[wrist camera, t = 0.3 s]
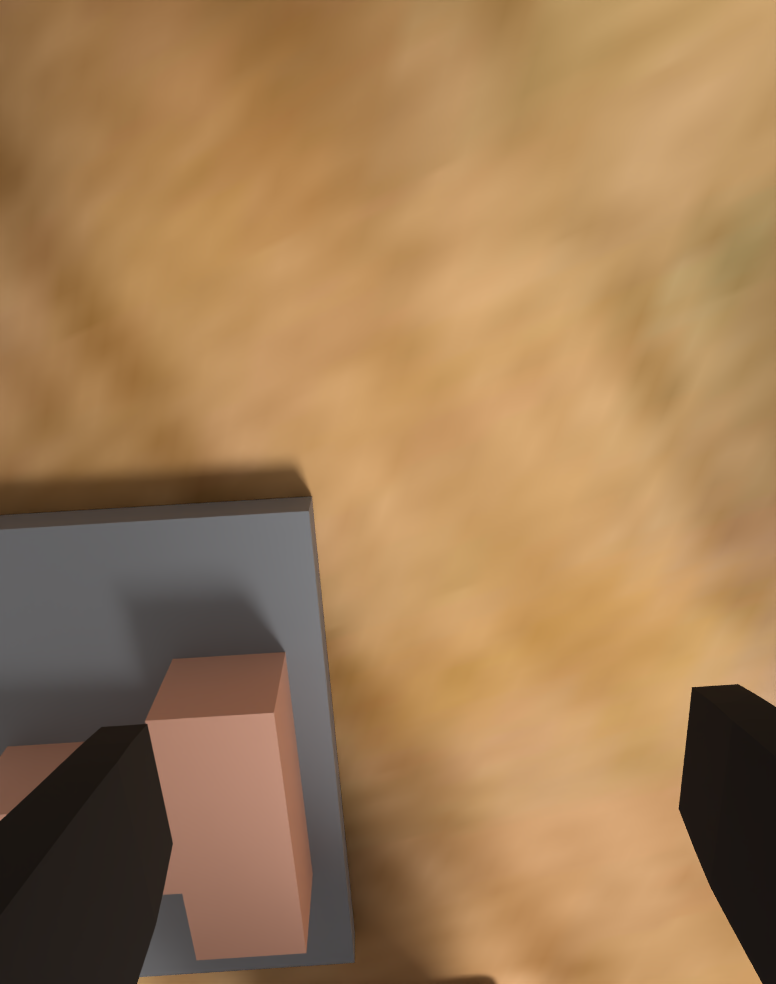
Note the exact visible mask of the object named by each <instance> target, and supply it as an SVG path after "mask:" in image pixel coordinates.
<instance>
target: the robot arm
mask: <svg viewBox="0 0 776 984" xmlns="http://www.w3.org/2000/svg"><path fill="white" fill-rule="evenodd" d="M679 811H680V813H681V816H682V818H683V821H684V823H685V826H686V829H687V831H688V834H689V836H690V839H691V841H692V844H693V847H694V849H695V852H696V854H697V856H698V859H699V861H700V863H701V866H702V868H703V871H704V873H705V875H706V878H707V880H708V883H709V885H710V887H711V889H712V891H713V893H714V895H715V897H716V899H717V900H718V902H719V904H720V906H721V908H722V910H723V912H724V914H725V915H726V917H727V919H728V921H729V923H730V925H731V927H732V928H733V930H734V932H735V934H736V936H737V938H738V940H739V941H740V943H741V945H742V947H743V949H744V951H745V952H746V954H747V956H748V958H749V960H750V962H751V963H752V965H753V967H754V969H755V971H756V973H757V974H758V976H759V978H760V980H761V982H762V983H763V984H776V707H775V706H774V705H772V704H770V703H769V702H767V701H766V700H764V699H762V698H761V697H759V696H757V695H756V694H754V693H752V692H751V691H749V690H747V689H745V688H744V687H742V686H740V685H738V684H735V685H720V686H705V687H692V693H691V702H690V711H689V720H688V730H687V739H686V748H685V757H684V766H683V775H682V784H681V793H680V802H679ZM172 846H173V841H172V836H171V831H170V827H169V822H168V817H167V813H166V808H165V803H164V799H163V794H162V789H161V785H160V780H159V776H158V771H157V766H156V762H155V757H154V752H153V748H152V743H151V738H150V734H149V729H148V724H138V725H123V726H108V727H101V728H100V729H98V730H97V731H96V732H95V733H94V734H93V735H91V736H90V737H89V738H88V739H87V740H86V741H85V742H84V743H83V744H82V745H80V746H79V747H78V748H77V749H76V750H75V751H74V752H73V753H72V754H71V755H70V756H69V757H68V758H67V759H65V760H64V761H63V762H62V763H61V764H60V765H59V766H58V767H57V768H56V769H55V770H54V771H53V772H52V773H51V774H50V775H49V776H48V777H46V778H45V779H44V780H43V781H42V782H41V783H40V784H39V785H38V786H37V787H36V788H35V789H34V790H33V791H32V792H31V793H30V794H28V795H27V796H26V797H25V798H24V799H23V800H22V801H21V802H20V803H19V804H18V805H17V806H16V807H14V808H13V809H12V810H11V811H10V812H9V813H8V814H7V815H6V816H5V817H4V818H3V819H2V820H0V984H137V982H138V979H139V976H140V973H141V970H142V967H143V964H144V961H145V958H146V955H147V952H148V948H149V945H150V942H151V939H152V936H153V933H154V930H155V926H156V923H157V918H158V914H159V909H160V905H161V900H162V896H163V891H164V886H165V881H166V876H167V871H168V866H169V861H170V856H171V851H172Z"/></svg>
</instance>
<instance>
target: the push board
mask: <svg viewBox="0 0 776 984" xmlns="http://www.w3.org/2000/svg"><path fill="white" fill-rule="evenodd" d="M277 652H285V653H286V661H287V669H288V677H289V685H290V693H291V702H292V710H293V718H294V726H295V734H296V742H297V750H298V758H299V766H300V775H301V783H302V791H303V799H304V807H305V815H306V823H307V831H308V839H309V847H310V856H311V864H312V872H313V878H312V890H311V902H310V915H309V927H308V939H307V951H306V953H301V954H286V955H271V956H256V957H240V958H225V959H210V960H196V955H195V951H194V946H193V941H192V937H191V932H190V927H189V923H188V918H187V913H186V909H185V904H184V900H183V895H182V894H168V895H163V896H162V900H161V905H160V909H159V914H158V918H157V923H156V926H155V930H154V933H153V936H152V939H151V942H150V945H149V948H148V952H147V955H146V958H145V961H144V964H143V967H142V970H141V973H140V976H139V977H147V976H162V975H177V974H193V973H208V972H223V971H238V970H253V969H268V968H283V967H298V966H313V965H328V964H343V963H354V962H355V930H354V919H353V909H352V899H351V889H350V879H349V869H348V859H347V848H346V838H345V828H344V818H343V808H342V798H341V787H340V777H339V767H338V757H337V747H336V737H335V727H334V716H333V706H332V696H331V686H330V676H329V666H328V656H327V645H326V635H325V625H324V615H323V605H322V595H321V585H320V574H319V564H318V554H317V544H316V534H315V524H314V513H313V503H312V496H310V497H294V498H277V499H260V500H244V501H227V502H211V503H194V504H178V505H161V506H145V507H128V508H111V509H95V510H78V511H62V512H45V513H29V514H12V515H0V756H1V755H2V753H3V752H4V751H5V749H6V748H7V747H8V746H24V745H40V744H56V743H72V742H85V741H86V740H87V739H88V738H89V737H90V736H91V735H93V734H94V733H95V732H96V731H97V730H98V729H100V728H101V727H108V726H123V725H138V724H146V723H145V720H146V718H147V715H148V713H149V711H150V709H151V706H152V704H153V702H154V700H155V697H156V695H157V693H158V691H159V689H160V686H161V684H162V682H163V680H164V677H165V675H166V673H167V671H168V668H169V666H170V664H171V662H172V659H181V658H197V657H213V656H229V655H245V654H261V653H277Z"/></svg>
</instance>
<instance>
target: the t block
mask: <svg viewBox="0 0 776 984" xmlns="http://www.w3.org/2000/svg"><path fill="white" fill-rule="evenodd" d="M145 723H146V724H148V729H149V734H150V738H151V743H152V748H153V752H154V757H155V762H156V766H157V771H158V776H159V780H160V785H161V789H162V794H163V799H164V803H165V808H166V813H167V817H168V822H169V827H170V831H171V836H172V841H173V846H172V851H171V856H170V861H169V866H168V871H167V876H166V881H165V886H164V891H163V895H168V894H182V895H183V900H184V904H185V909H186V913H187V918H188V923H189V927H190V932H191V937H192V941H193V946H194V951H195V955H196V960H210V959H225V958H240V957H256V956H271V955H286V954H301V953H306V951H307V939H308V927H309V915H310V902H311V890H312V878H313V872H312V864H311V856H310V847H309V839H308V831H307V823H306V815H305V807H304V799H303V791H302V783H301V775H300V766H299V758H298V750H297V742H296V734H295V726H294V718H293V710H292V702H291V693H290V685H289V677H288V669H287V661H286V653H285V652H277V653H261V654H245V655H229V656H213V657H197V658H181V659H172V662H171V664H170V666H169V668H168V671H167V673H166V675H165V677H164V680H163V682H162V684H161V686H160V689H159V691H158V693H157V695H156V697H155V700H154V702H153V704H152V706H151V709H150V711H149V713H148V715H147V718H146V720H145ZM83 743H84V742H72V743H56V744H40V745H24V746H8V747H7V748H6V749H5V751H4V752H3V753H2V755H1V756H0V820H2V819H3V818H4V817H5V816H6V815H7V814H8V813H9V812H10V811H11V810H12V809H13V808H14V807H16V806H17V805H18V804H19V803H20V802H21V801H22V800H23V799H24V798H25V797H26V796H27V795H28V794H30V793H31V792H32V791H33V790H34V789H35V788H36V787H37V786H38V785H39V784H40V783H41V782H42V781H43V780H44V779H45V778H46V777H48V776H49V775H50V774H51V773H52V772H53V771H54V770H55V769H56V768H57V767H58V766H59V765H60V764H61V763H62V762H63V761H64V760H65V759H67V758H68V757H69V756H70V755H71V754H72V753H73V752H74V751H75V750H76V749H77V748H78V747H79V746H80V745H82V744H83Z"/></svg>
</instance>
